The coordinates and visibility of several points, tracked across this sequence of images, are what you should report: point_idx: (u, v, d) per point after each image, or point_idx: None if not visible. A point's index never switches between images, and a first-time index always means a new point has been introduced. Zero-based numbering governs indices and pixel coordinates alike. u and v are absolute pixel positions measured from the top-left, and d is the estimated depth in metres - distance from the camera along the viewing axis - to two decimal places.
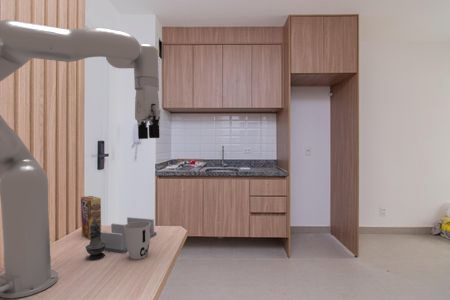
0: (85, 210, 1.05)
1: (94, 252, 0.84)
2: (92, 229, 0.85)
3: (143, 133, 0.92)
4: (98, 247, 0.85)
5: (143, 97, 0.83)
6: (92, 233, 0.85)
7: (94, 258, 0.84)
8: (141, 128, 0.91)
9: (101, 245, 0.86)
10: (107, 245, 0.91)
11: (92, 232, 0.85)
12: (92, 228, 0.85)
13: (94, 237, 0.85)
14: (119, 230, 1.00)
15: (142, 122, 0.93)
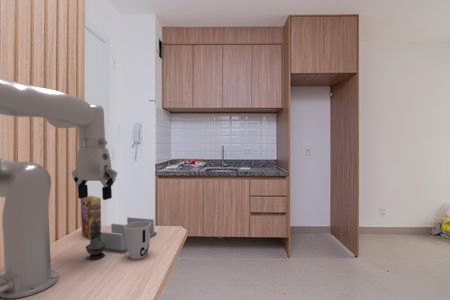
0: (85, 210, 1.05)
1: (94, 252, 0.84)
2: (92, 229, 0.85)
3: None
4: (98, 247, 0.85)
5: None
6: (92, 233, 0.85)
7: (94, 258, 0.84)
8: None
9: (101, 245, 0.86)
10: (107, 245, 0.91)
11: (92, 232, 0.85)
12: (92, 228, 0.85)
13: (94, 237, 0.85)
14: (119, 230, 1.00)
15: None
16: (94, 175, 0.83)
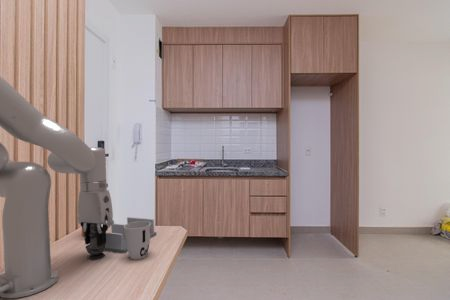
0: None
1: (94, 252, 0.84)
2: (92, 229, 0.85)
3: None
4: (98, 247, 0.85)
5: None
6: (92, 233, 0.85)
7: (94, 258, 0.84)
8: None
9: (101, 245, 0.86)
10: (107, 245, 0.91)
11: (92, 232, 0.85)
12: (92, 228, 0.85)
13: (94, 237, 0.85)
14: (119, 230, 1.00)
15: None
16: (95, 219, 0.83)
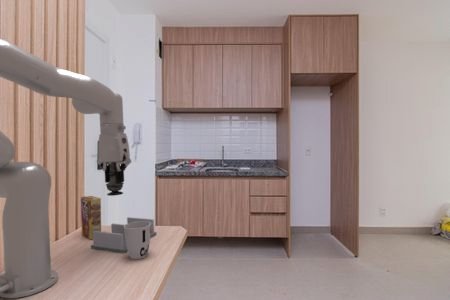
0: (85, 210, 1.05)
1: (114, 188, 0.93)
2: (111, 168, 0.93)
3: None
4: (117, 184, 0.93)
5: None
6: (111, 171, 0.93)
7: (114, 194, 0.93)
8: None
9: (120, 183, 0.94)
10: (107, 245, 0.91)
11: (111, 171, 0.93)
12: (111, 167, 0.93)
13: (113, 175, 0.93)
14: (119, 230, 1.00)
15: None
16: (115, 157, 0.92)
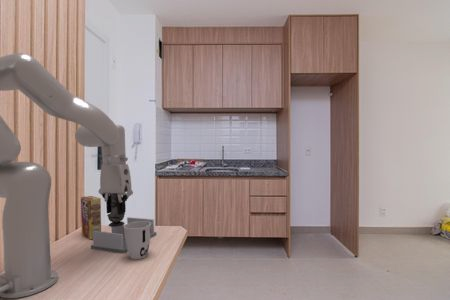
0: (85, 210, 1.05)
1: (115, 219, 0.93)
2: (113, 199, 0.94)
3: None
4: (119, 215, 0.93)
5: None
6: (113, 202, 0.94)
7: (115, 225, 0.93)
8: None
9: None
10: (107, 245, 0.91)
11: (113, 201, 0.94)
12: (113, 198, 0.94)
13: (115, 206, 0.94)
14: (119, 230, 1.00)
15: (122, 195, 0.94)
16: (116, 189, 0.92)
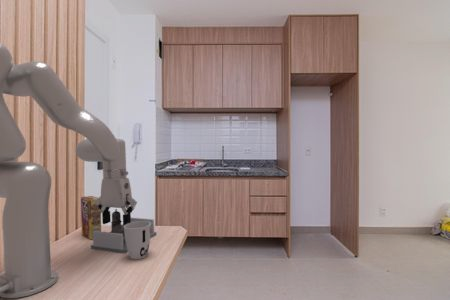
0: (85, 210, 1.05)
1: None
2: (114, 217, 0.94)
3: None
4: None
5: None
6: (114, 221, 0.94)
7: None
8: None
9: (121, 232, 0.95)
10: (107, 245, 0.91)
11: (114, 220, 0.94)
12: (114, 216, 0.94)
13: (115, 225, 0.94)
14: None
15: None
16: (117, 203, 0.92)
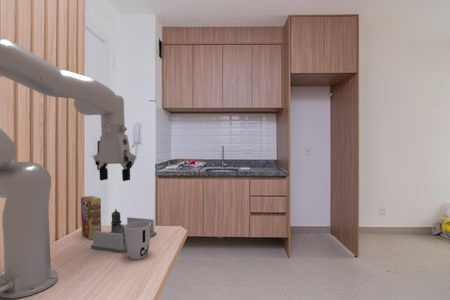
0: (85, 210, 1.05)
1: None
2: (113, 217, 0.94)
3: None
4: None
5: None
6: (113, 221, 0.94)
7: None
8: None
9: (121, 232, 0.95)
10: (107, 245, 0.91)
11: (113, 220, 0.94)
12: (113, 216, 0.94)
13: (115, 225, 0.94)
14: None
15: None
16: (115, 159, 0.92)
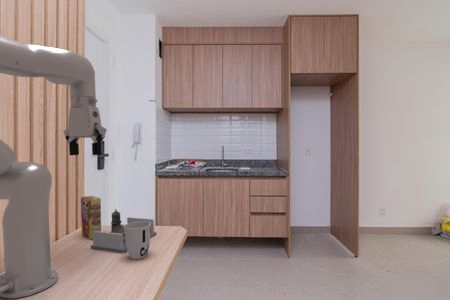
0: (85, 210, 1.05)
1: None
2: (113, 218, 0.94)
3: None
4: None
5: None
6: (113, 221, 0.94)
7: None
8: None
9: (121, 232, 0.95)
10: (107, 245, 0.91)
11: (113, 220, 0.94)
12: (113, 216, 0.94)
13: (115, 225, 0.94)
14: None
15: None
16: (85, 132, 0.87)
